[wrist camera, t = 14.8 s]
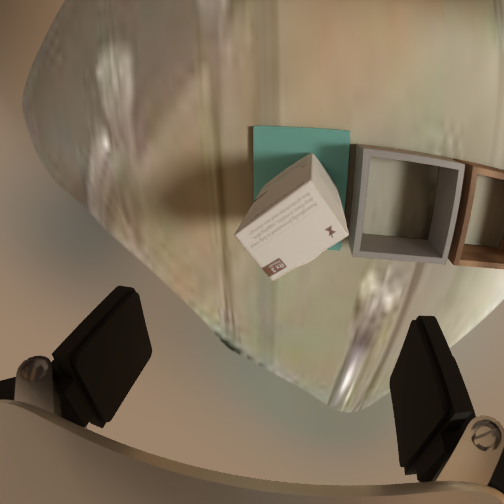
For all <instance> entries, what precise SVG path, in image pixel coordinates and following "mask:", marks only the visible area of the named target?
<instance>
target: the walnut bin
mask: <svg viewBox="0 0 504 504" xmlns="http://www.w3.org/2000/svg"><path fill="white" fill-rule="evenodd" d="M453 160H455V161H458V162H460V163H463V164H465V169H464V177H463V184H462V191H461V197H460V203H459V208H458V214H457V219H456V224H455V228H454V233H453V238H452V242H451V246H450V250H449V254H448V259H449V260H450V261H451V263H452V264H453V265H460V266H472V267H484V268H495V269H504V235H503V239H502V242H501V246H500V248H495V247H487V246H478V245H470V244H464V242H465V238H466V233H467V229H468V224H469V220H470V215H471V209H472V204H473V198H474V193H475V186H476V180H477V174H480V175H485V176H489V177H494V178H498V179H502V180H504V170H501V169H497V168H493V167H489V166H485V165H481V164H476V163H472V162H467V161H463V160H458V159H453Z"/></svg>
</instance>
